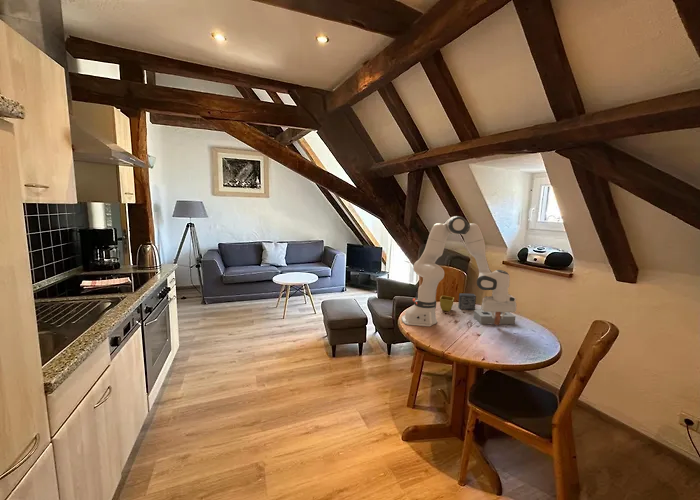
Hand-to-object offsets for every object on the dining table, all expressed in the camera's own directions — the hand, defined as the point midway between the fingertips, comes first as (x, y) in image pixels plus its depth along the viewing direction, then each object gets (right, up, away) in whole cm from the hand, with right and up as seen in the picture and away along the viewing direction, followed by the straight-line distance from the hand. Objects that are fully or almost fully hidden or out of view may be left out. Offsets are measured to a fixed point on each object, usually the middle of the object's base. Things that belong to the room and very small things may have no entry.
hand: (497, 318), depth 193 cm
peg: (0, -4, +1) cm, 4 cm away
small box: (-6, -1, +35) cm, 35 cm away
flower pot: (-22, -1, +31) cm, 38 cm away
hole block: (+3, -4, +12) cm, 13 cm away
